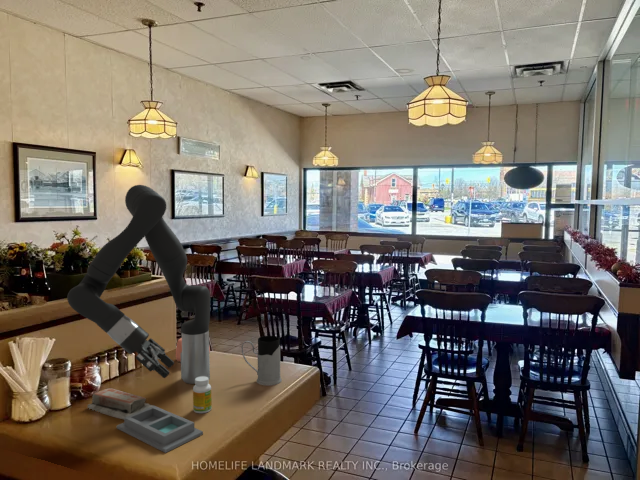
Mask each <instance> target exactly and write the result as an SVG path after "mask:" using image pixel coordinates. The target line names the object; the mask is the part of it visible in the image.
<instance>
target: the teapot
mask: <svg viewBox="0 0 640 480" xmlns="http://www.w3.org/2000/svg"><path fill="white" fill-rule="evenodd" d="M181 352H182V337H180V338H178V340H177V343H176V348H175V359H176V361H177V362H180V363H181ZM210 353H211V346H210V345H209V355H210Z"/></svg>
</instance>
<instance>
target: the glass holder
mask: <svg viewBox="0 0 640 480" xmlns="http://www.w3.org/2000/svg"><path fill="white" fill-rule="evenodd" d="M245 343H249V344H250V345H251V346H252V351H253V353H254V354H255V355H257V369H256V367H255V366H253V365H252V364H251V363H250V362H249V361H248V360H247V358H246V356H245V354H244V344H245ZM241 354H242V357H243V359H244V362H245V363H246V364H247V365H248V366H250V367H251V368H252V369H253V370H254V371H255V372H256V373H257V374H256V375H257V379H256V383H257V384H258V385H260V386H276V385H278V384H280V383H282V381H283V380H282V378H281V345H280V337H279V336H276V335H263V336H259V337H258V338H257V352H256V351H255V346H254V343H253V342H252V341H249V340H246V341H244V342H242V344H241Z"/></svg>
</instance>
